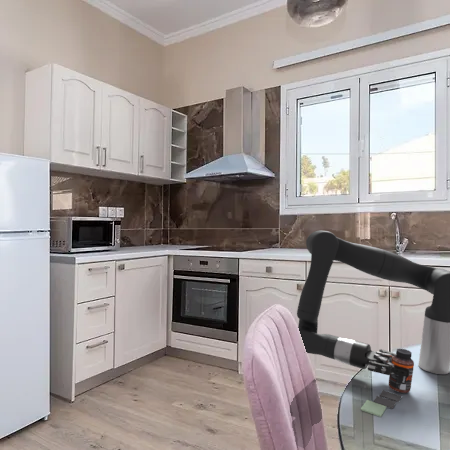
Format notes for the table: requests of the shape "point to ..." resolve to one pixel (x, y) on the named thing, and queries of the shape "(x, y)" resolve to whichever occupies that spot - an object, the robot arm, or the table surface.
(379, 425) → the table surface
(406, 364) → the supplement bottle
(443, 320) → the robot arm
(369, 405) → the track
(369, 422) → the table surface
